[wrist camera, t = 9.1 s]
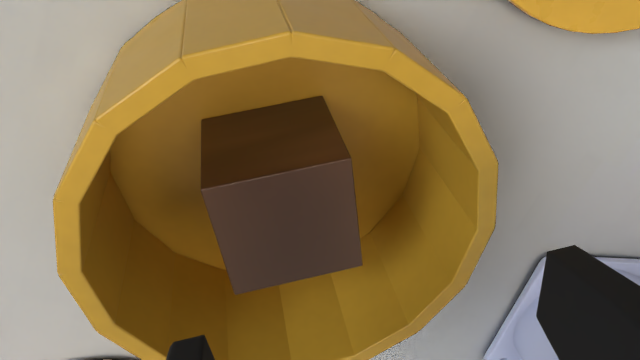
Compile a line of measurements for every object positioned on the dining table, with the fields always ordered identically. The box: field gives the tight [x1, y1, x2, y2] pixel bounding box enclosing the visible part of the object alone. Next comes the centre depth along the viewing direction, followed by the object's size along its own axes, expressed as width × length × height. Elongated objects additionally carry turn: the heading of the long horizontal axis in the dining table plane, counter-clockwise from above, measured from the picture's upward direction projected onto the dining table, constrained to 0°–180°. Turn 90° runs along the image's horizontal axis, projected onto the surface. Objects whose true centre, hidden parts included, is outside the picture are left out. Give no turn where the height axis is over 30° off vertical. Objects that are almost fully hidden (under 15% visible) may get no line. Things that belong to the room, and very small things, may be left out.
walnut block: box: [201, 96, 363, 295], centre depth 17 cm, size 4×4×4 cm
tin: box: [53, 0, 498, 360], centre depth 16 cm, size 12×12×5 cm
